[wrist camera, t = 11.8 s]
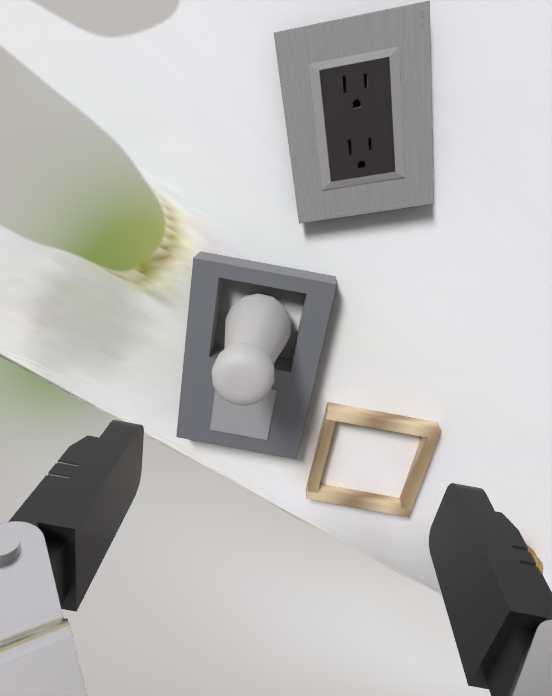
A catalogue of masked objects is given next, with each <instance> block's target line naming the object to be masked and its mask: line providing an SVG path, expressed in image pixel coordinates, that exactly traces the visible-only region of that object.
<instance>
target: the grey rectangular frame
mask: <svg viewBox="0 0 552 696" xmlns="http://www.w3.org/2000/svg"><path fill="white" fill-rule="evenodd" d="M223 278H224V279H230V280H235V281H241V282H246V283H252V284H257V285H262V286H268V287H273V288H279V289H284V290H290V291H295V292H300V293H306V294H305V299H304V304H303V309H302V314H301V319H300V324H299V329H298V334H297V338H296V343H295V348H294V353H293V358H292V361H291V360H286V359H280V358H277V359H276V361H275V362H274V383H273V385H272V387H271V389H270V391H269V393H268V395H267V396H266V398H264V399H263V400H261V401H260V402H258V403H256V404H253V405H247V406H240V405H235V404H231V403H229V402H228V401H226V400H225V399H223V398H222V397H220V396H219V395H218V393H217V391H216V390H215V388H214V386H213V382H212V367H213V365H214V363H215V361H216V359H217V357H218V355H219V353H220V352H222V351H223V350H224V349H225V348H221V347H215V338H216V330H217V322H218V314H219V306H220V298H221V289H222V281H223ZM336 285H337V283H336V278H335V276H330V275H325V274H319V273H314V272H308V271H303V270H297V269H292V268H287V267H281V266H276V265H270V264H265V263H259V262H254V261H249V260H243V259H238V258H232V257H227V256H221V255H216V254H211V253H205V252H199V253H198V254H197V255H196V256H195V257H194V258H193V269H192V279H191V290H190V300H189V311H188V321H187V332H186V342H185V353H184V363H183V374H182V385H181V395H180V406H179V416H178V427H177V437H179V438H185V439H190V440H196V441H201V442H207V443H212V444H217V445H223V446H228V447H234V448H239V449H245V450H250V451H255V452H261V453H266V454H272V455H277V456H283V457H288V458H293V459H297V455H298V451H299V446H300V442H301V438H302V433H303V429H304V424H305V420H306V416H307V411H308V407H309V403H310V398H311V394H312V390H313V385H314V381H315V376H316V372H317V368H318V363H319V359H320V355H321V350H322V346H323V342H324V337H325V333H326V329H327V324H328V320H329V315H330V311H331V307H332V302H333V298H334V294H335V289H336Z"/></svg>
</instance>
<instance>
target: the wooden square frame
mask: <svg viewBox="0 0 552 696" xmlns="http://www.w3.org/2000/svg"><path fill="white" fill-rule="evenodd" d="M336 421H340V422H345V423H350V424H356V425H361V426H367V427H372V428H378V429H383V430H388V431H394V432H399V433H405V434H410V435H416V436H421V437H422V438H421V440H420V443H419V446H418V449H417V452H416V454H415V457H414V460H413V463H412V465H411V468H410V471H409V474H408V477H407V479H406V482H405V485H404V488H403V491H402V493H401V496H400V498H394V497H389V496H383V495H378V494H373V493H367V492H362V491H356V490H351V489H345V488H340V487H335V486H329V485H324V484H320V480H321V477H322V473H323V469H324V465H325V461H326V458H327V454H328V450H329V446H330V442H331V438H332V435H333V431H334V427H335V423H336ZM440 434H441V429H440V427H439V425H438V422H432V421H427V420H421V419H416V418H410V417H405V416H400V415H394V414H389V413H383V412H378V411H372V410H367V409H362V408H356V407H351V406H345V405H340V404H334V403H329V402H328V403H327V407H326V411H325V415H324V419H323V423H322V427H321V431H320V435H319V439H318V443H317V447H316V451H315V455H314V459H313V463H312V467H311V471H310V475H309V479H308V483H307V487H306V499H311V500H317V501H322V502H328V503H333V504H339V505H344V506H349V507H355V508H360V509H366V510H371V511H377V512H382V513H387V514H393V515H398V516H404V517H409V516H410V513H411V510H412V508H413V505H414V502H415V500H416V497H417V495H418V492H419V489H420V487H421V484H422V481H423V479H424V476H425V473H426V471H427V468H428V465H429V463H430V460H431V457H432V455H433V452H434V449H435V447H436V444H437V441H438V439H439V436H440Z"/></svg>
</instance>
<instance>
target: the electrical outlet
mask: <svg viewBox="0 0 552 696" xmlns="http://www.w3.org/2000/svg"><path fill="white" fill-rule="evenodd" d="M274 38H275V45H276V53H277V60H278V68H279V75H280V83H281V90H282V98H283V105H284V113H285V120H286V128H287V135H288V143H289V150H290V158H291V165H292V173H293V180H294V188H295V195H296V203H297V210H298V218H299V224H300V223H307V222H314V221H320V220H327V219H334V218H341V217H347V216H354V215H361V214H368V213H374V212H381V211H388V210H394V209H401V208H408V207H415V206H421V205H428V204H434V183H433V137H432V91H431V45H430V1H425V2H420V3H416V4H411V5H406V6H401V7H396V8H391V9H386V10H382V11H377V12H372V13H367V14H362V15H357V16H352V17H348V18H343V19H338V20H333V21H328V22H323V23H318V24H314V25H309V26H304V27H299V28H294V29H289V30H284V31H280V32H275V33H274Z"/></svg>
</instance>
